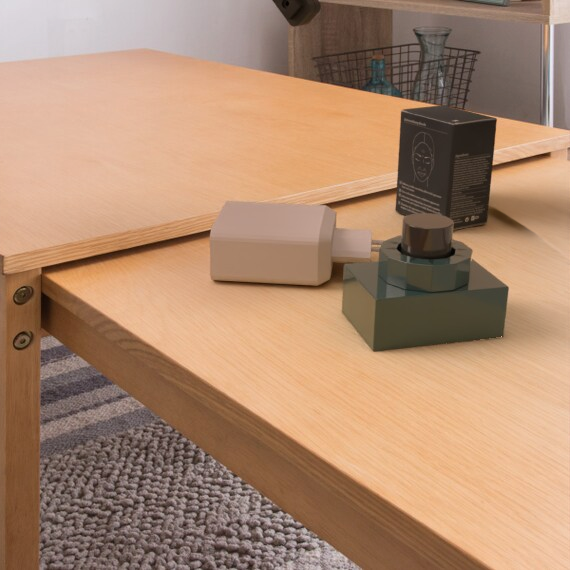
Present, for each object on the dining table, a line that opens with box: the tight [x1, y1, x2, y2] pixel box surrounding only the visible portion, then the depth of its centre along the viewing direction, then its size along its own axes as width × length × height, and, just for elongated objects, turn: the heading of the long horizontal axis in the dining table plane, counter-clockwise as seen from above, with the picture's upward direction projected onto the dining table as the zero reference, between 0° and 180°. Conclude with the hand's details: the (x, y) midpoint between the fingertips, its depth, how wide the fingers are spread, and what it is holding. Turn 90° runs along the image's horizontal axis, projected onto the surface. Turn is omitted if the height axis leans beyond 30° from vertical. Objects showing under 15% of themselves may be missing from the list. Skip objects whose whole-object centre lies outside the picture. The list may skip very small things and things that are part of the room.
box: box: [395, 104, 498, 231], centre depth 91 cm, size 8×6×11 cm
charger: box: [209, 200, 385, 287], centre depth 78 cm, size 5×9×15 cm
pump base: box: [341, 234, 510, 353], centre depth 68 cm, size 10×7×6 cm
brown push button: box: [401, 213, 454, 260], centre depth 66 cm, size 4×4×2 cm
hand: (308, 18), depth 66 cm, fingers closed
